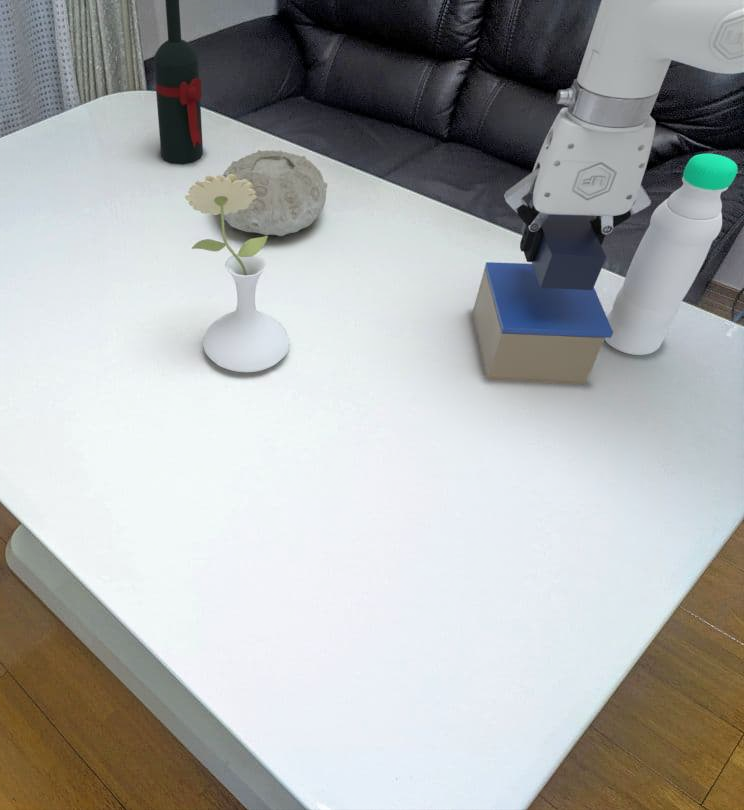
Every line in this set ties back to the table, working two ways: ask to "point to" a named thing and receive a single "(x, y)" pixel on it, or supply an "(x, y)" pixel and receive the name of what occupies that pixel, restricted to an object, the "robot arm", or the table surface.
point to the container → (530, 349)
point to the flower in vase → (238, 285)
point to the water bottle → (670, 256)
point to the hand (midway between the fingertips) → (556, 255)
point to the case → (568, 253)
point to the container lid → (543, 305)
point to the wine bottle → (178, 94)
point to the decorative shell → (278, 193)
